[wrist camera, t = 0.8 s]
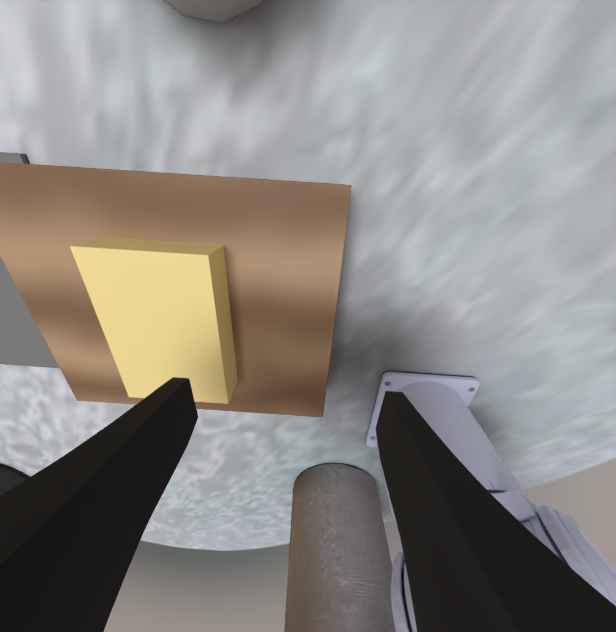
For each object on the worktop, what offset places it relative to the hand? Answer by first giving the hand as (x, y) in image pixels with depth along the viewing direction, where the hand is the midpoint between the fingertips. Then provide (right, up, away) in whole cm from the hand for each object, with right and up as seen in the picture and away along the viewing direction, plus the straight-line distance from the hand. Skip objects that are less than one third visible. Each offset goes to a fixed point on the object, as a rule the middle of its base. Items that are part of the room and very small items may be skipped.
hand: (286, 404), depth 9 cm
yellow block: (-7, +3, +5) cm, 9 cm away
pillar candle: (+4, -17, +20) cm, 27 cm away
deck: (-7, +5, +9) cm, 12 cm away
